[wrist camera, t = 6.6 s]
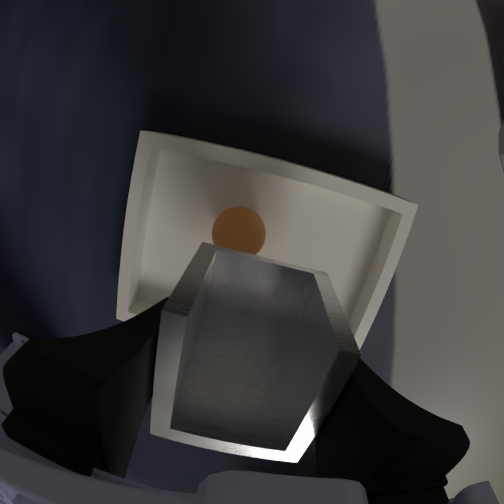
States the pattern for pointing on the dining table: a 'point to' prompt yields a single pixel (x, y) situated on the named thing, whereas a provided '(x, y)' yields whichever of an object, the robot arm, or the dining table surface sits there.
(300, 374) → the silver open box
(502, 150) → the white cup
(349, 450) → the robot arm
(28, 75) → the dining table surface
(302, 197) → the tray
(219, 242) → the ball
